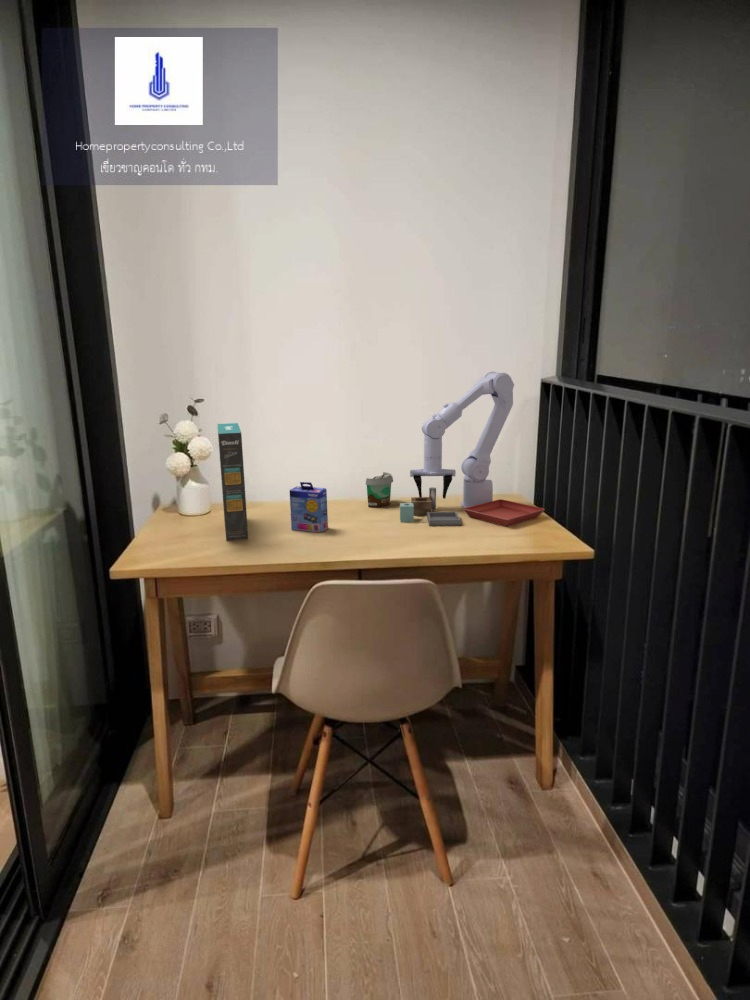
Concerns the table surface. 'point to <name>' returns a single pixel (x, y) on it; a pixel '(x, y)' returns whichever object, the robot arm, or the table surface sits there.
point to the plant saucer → (503, 512)
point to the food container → (379, 490)
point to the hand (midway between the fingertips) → (432, 498)
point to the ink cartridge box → (308, 508)
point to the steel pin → (433, 497)
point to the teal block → (406, 512)
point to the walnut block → (421, 505)
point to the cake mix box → (232, 481)
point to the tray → (443, 519)
